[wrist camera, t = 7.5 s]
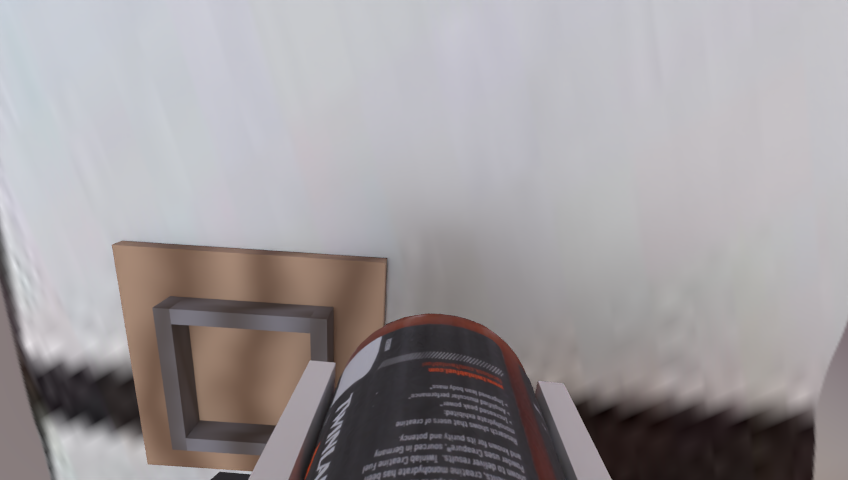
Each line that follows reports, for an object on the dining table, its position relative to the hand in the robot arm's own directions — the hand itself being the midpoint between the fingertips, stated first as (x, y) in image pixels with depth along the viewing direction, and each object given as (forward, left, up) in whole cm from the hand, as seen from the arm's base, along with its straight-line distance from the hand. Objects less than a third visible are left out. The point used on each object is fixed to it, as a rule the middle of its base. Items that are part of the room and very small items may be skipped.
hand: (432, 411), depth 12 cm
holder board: (+13, +12, -19) cm, 26 cm away
